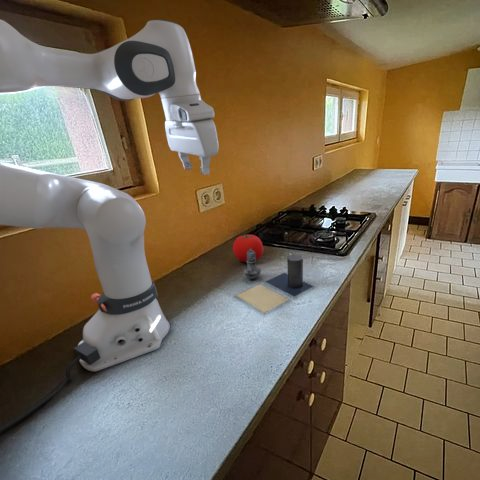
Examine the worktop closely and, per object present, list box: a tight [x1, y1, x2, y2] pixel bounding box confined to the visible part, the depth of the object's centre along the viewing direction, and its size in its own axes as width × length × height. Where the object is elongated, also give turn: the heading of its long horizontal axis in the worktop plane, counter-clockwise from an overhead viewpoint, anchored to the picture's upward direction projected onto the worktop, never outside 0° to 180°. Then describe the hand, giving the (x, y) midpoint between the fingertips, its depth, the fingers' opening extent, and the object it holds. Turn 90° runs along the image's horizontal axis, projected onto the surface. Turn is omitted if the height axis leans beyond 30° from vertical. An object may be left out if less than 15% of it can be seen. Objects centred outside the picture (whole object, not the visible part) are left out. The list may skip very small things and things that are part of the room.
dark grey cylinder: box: [286, 254, 304, 289], centre depth 99 cm, size 5×5×10 cm
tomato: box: [232, 233, 264, 263], centre depth 119 cm, size 12×12×10 cm
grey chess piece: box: [243, 248, 262, 282], centre depth 104 cm, size 6×6×12 cm
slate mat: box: [265, 272, 314, 298], centre depth 102 cm, size 9×14×1 cm, turn 42°
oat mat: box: [235, 283, 289, 314], centre depth 95 cm, size 10×14×1 cm
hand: (196, 171), depth 78 cm, fingers open, 8 cm apart
